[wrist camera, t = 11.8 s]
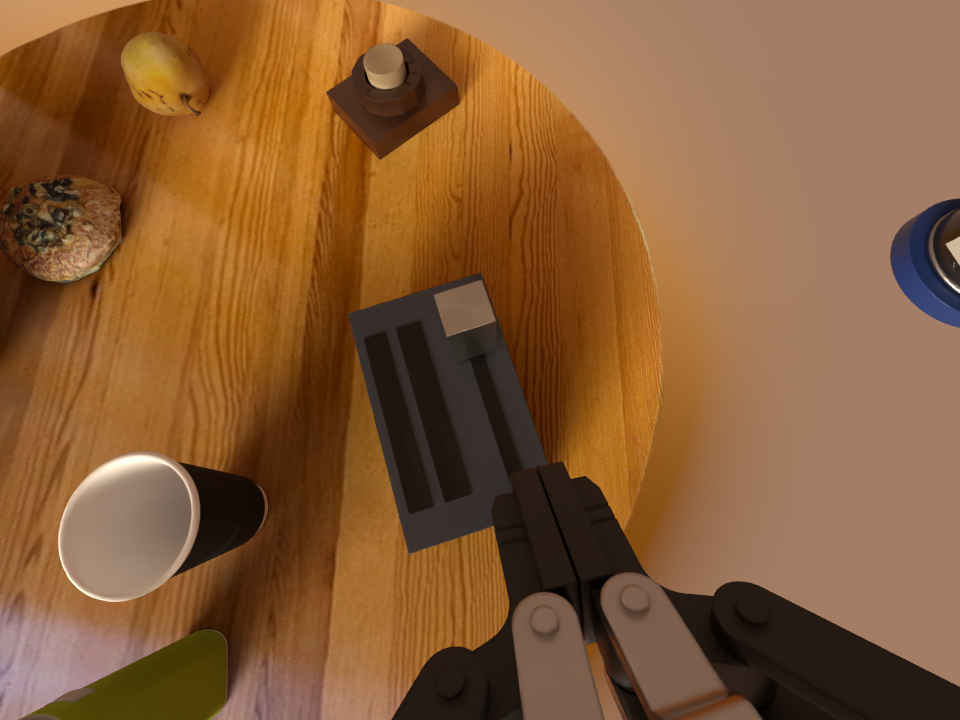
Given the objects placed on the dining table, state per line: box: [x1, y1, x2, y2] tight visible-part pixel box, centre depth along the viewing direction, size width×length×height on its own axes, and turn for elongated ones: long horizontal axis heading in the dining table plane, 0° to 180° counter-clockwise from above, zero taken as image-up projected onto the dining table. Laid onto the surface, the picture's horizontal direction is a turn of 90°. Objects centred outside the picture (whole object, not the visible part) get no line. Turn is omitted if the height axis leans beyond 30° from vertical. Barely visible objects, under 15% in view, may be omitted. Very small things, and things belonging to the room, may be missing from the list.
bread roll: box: [0, 174, 122, 283], centre depth 41 cm, size 11×11×5 cm
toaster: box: [348, 273, 548, 554], centre depth 32 cm, size 15×9×10 cm, turn 18°
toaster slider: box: [434, 280, 497, 363], centre depth 25 cm, size 2×3×5 cm
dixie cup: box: [59, 451, 268, 602], centre depth 30 cm, size 8×8×11 cm
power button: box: [363, 44, 407, 91], centre depth 41 cm, size 4×4×2 cm
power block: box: [326, 38, 459, 159], centre depth 43 cm, size 10×8×4 cm
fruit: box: [121, 31, 209, 116], centre depth 43 cm, size 7×7×10 cm
